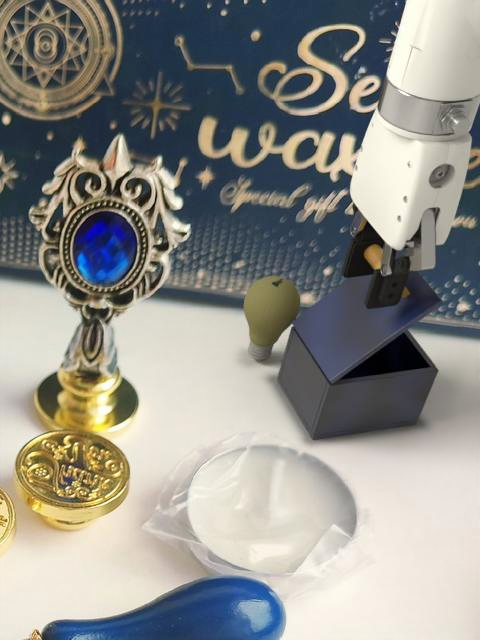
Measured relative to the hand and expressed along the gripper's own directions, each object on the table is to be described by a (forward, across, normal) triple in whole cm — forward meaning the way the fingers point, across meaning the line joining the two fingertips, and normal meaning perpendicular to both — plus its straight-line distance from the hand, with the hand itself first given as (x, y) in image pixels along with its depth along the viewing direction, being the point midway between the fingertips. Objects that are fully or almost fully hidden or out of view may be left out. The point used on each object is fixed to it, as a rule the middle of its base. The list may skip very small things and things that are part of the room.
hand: (369, 288), depth 100 cm
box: (+14, 0, -1) cm, 14 cm away
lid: (+3, 0, 0) cm, 3 cm away
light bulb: (+15, +8, +5) cm, 17 cm away
